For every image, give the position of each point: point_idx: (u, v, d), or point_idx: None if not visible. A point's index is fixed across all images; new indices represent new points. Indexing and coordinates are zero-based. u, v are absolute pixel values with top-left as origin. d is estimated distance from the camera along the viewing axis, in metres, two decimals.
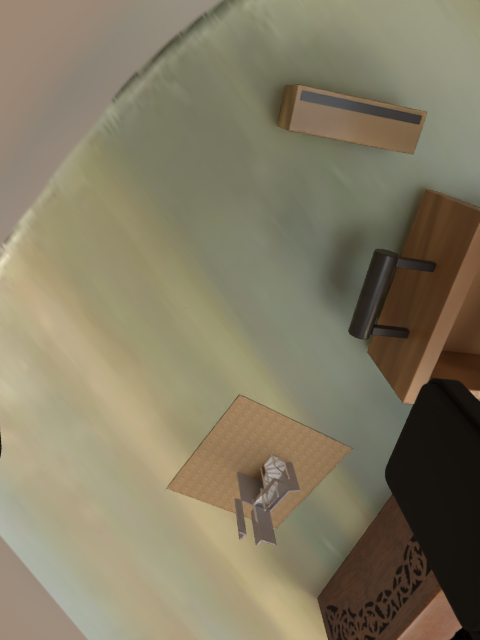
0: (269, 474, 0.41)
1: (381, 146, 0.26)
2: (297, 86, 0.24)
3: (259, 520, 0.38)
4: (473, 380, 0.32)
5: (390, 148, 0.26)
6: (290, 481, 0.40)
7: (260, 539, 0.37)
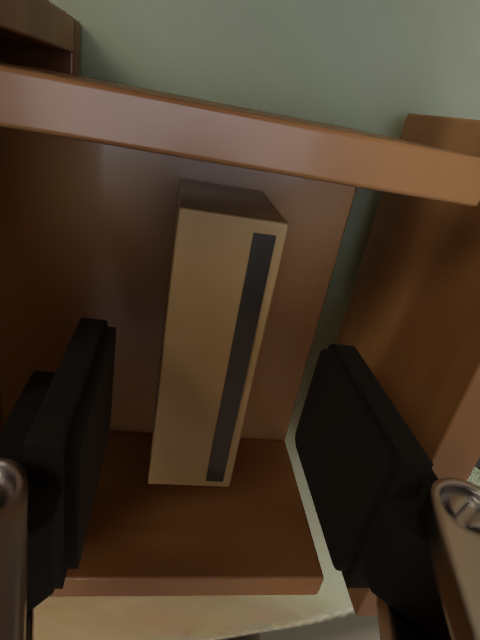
0: None
1: (158, 425, 0.12)
2: (283, 222, 0.10)
3: None
4: None
5: (155, 442, 0.12)
6: None
7: None
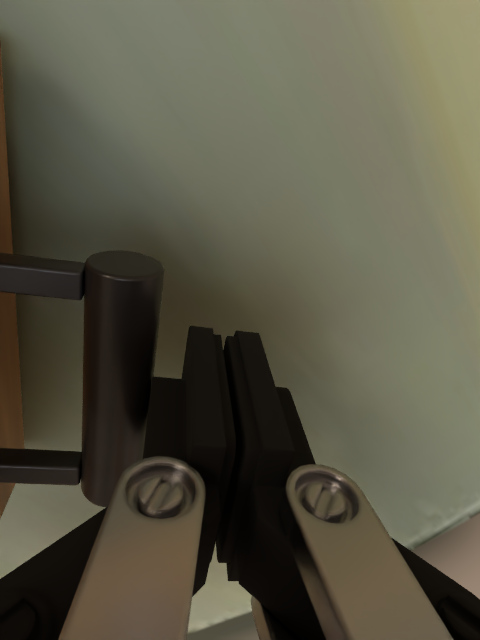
0: None
1: None
2: None
3: None
4: None
5: None
6: None
7: None
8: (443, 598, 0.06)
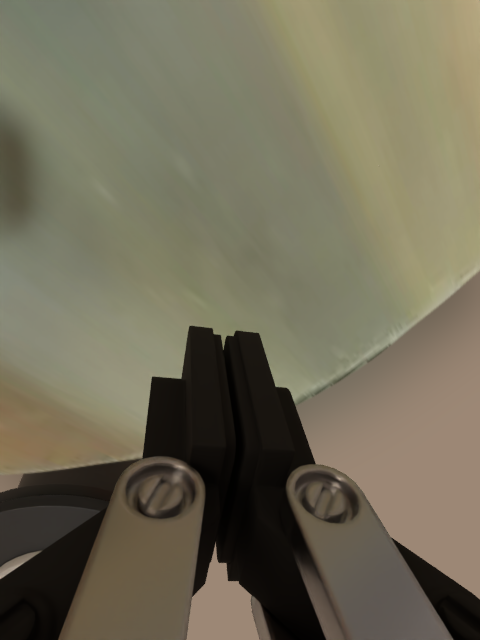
0: None
1: None
2: None
3: None
4: None
5: None
6: None
7: None
8: (444, 598, 0.06)
